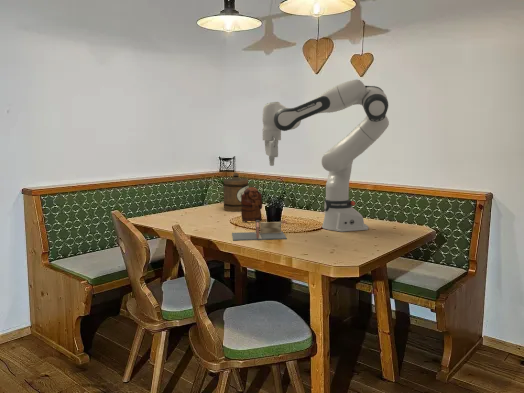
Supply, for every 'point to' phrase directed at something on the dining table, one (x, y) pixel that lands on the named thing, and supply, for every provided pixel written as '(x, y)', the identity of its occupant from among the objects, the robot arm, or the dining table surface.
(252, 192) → the wooden figurine
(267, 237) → the card
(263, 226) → the fixed fence panel
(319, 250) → the dining table surface
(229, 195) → the wooden container
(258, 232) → the hinged fence panel
